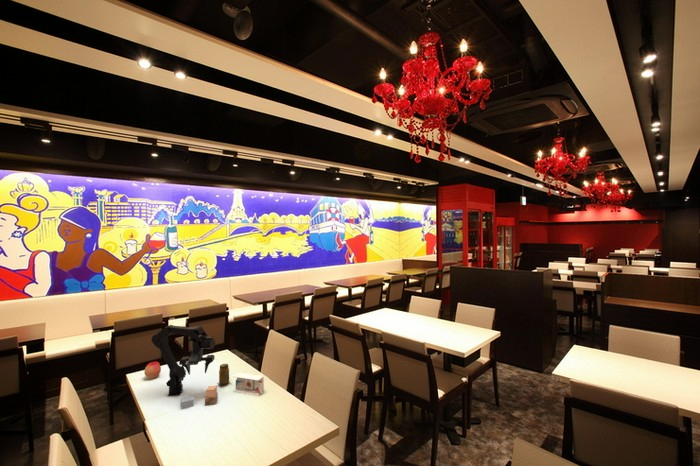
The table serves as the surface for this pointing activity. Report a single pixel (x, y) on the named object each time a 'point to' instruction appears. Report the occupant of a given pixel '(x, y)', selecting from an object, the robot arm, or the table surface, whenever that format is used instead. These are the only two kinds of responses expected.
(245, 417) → the table surface
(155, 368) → the apple
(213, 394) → the terracotta cube
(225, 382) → the condiment
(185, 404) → the slate block
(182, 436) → the table surface
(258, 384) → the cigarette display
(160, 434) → the table surface
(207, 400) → the walnut block
